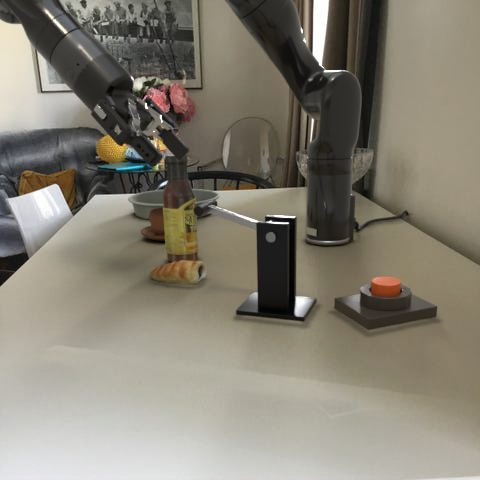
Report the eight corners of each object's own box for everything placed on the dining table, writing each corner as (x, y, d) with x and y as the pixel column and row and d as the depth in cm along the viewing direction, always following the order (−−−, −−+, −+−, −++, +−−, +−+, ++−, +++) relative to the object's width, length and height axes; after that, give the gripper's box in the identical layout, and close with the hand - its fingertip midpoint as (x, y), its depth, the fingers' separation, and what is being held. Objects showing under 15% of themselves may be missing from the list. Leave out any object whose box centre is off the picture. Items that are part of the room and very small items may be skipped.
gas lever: (191, 217, 79) (195, 201, 78) (207, 209, 84) (210, 194, 83) (278, 248, 77) (283, 232, 76) (289, 238, 81) (293, 223, 80)
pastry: (145, 286, 96) (143, 264, 95) (158, 274, 102) (157, 254, 101) (198, 289, 94) (197, 266, 93) (209, 276, 100) (208, 255, 99)
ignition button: (389, 286, 82) (389, 275, 81) (406, 295, 78) (407, 283, 78) (365, 290, 80) (365, 278, 80) (381, 299, 77) (382, 287, 76)
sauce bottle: (193, 265, 107) (187, 156, 99) (162, 264, 108) (153, 156, 100) (202, 256, 113) (197, 152, 105) (172, 255, 114) (165, 152, 106)
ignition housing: (397, 300, 86) (399, 275, 85) (436, 321, 79) (439, 293, 77) (333, 312, 83) (334, 286, 81) (368, 334, 75) (370, 306, 73)
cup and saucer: (131, 242, 124) (128, 214, 122) (158, 230, 135) (156, 204, 132) (179, 246, 120) (177, 217, 118) (203, 233, 130) (202, 206, 128)
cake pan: (218, 220, 142) (217, 202, 140) (121, 223, 143) (119, 205, 141) (222, 202, 165) (221, 186, 163) (138, 204, 165) (137, 189, 164)
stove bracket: (236, 318, 82) (232, 224, 76) (253, 300, 88) (251, 212, 83) (303, 326, 78) (305, 227, 73) (316, 306, 85) (318, 215, 80)
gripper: (76, 49, 71) (165, 144, 72) (132, 53, 84) (208, 135, 84) (47, 95, 75) (132, 185, 76) (105, 93, 87) (178, 170, 88)
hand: (172, 158), depth 80 cm, fingers open, 8 cm apart
